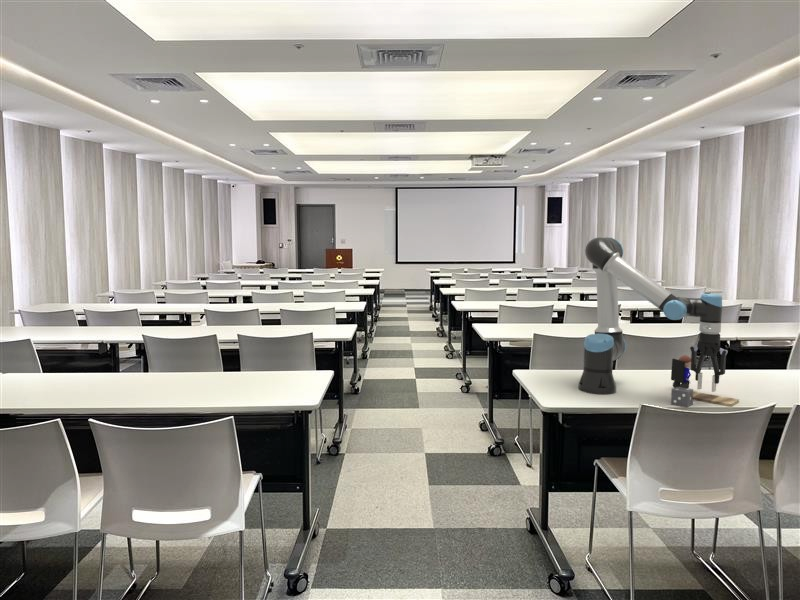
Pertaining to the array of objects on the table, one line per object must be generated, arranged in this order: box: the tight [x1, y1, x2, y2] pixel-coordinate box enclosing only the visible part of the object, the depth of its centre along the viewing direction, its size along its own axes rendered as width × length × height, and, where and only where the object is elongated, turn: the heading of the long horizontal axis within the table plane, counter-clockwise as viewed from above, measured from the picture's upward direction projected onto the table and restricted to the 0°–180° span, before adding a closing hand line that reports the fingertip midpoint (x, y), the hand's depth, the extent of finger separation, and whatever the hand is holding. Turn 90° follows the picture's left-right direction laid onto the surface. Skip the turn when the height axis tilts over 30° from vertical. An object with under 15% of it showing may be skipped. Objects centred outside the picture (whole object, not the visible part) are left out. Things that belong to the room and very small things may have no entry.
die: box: [670, 387, 694, 408], centre depth 226 cm, size 6×6×6 cm
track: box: [693, 390, 740, 408], centre depth 234 cm, size 21×10×1 cm, turn 44°
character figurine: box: [670, 355, 692, 389], centre depth 247 cm, size 8×7×15 cm
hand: (706, 389), depth 234 cm, fingers open, 5 cm apart
